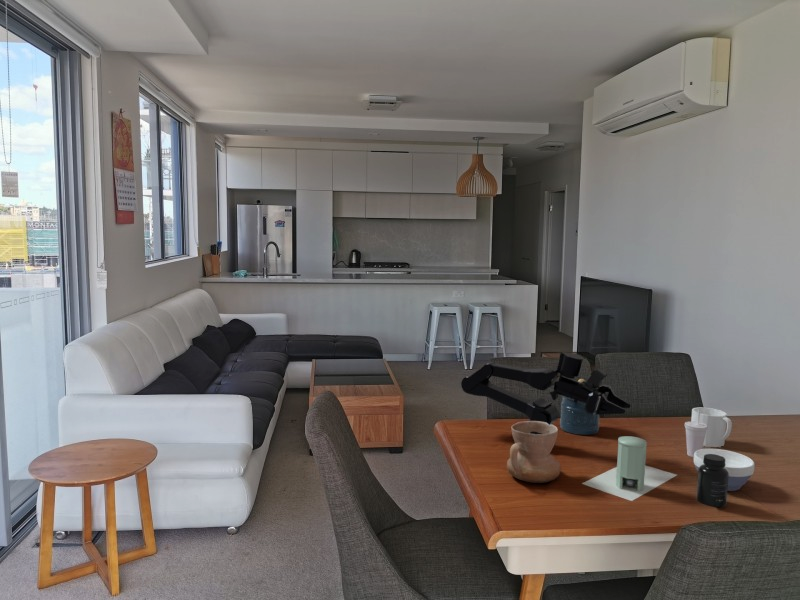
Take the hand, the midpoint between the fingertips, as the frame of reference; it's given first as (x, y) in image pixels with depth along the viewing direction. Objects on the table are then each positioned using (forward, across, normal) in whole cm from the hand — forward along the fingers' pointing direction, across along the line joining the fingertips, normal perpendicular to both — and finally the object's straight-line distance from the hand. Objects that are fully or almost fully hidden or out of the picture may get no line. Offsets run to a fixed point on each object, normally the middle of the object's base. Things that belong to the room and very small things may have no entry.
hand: (627, 409), depth 179 cm
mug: (+24, +35, +10) cm, 44 cm away
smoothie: (+20, +21, +12) cm, 31 cm away
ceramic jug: (-16, -23, +22) cm, 36 cm away
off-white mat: (+7, -11, +16) cm, 21 cm away
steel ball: (+7, -16, +14) cm, 23 cm away
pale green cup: (+8, -16, +16) cm, 24 cm away
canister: (-15, +27, +19) cm, 36 cm away
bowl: (+28, 0, +11) cm, 30 cm away
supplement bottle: (+26, -15, +13) cm, 33 cm away
